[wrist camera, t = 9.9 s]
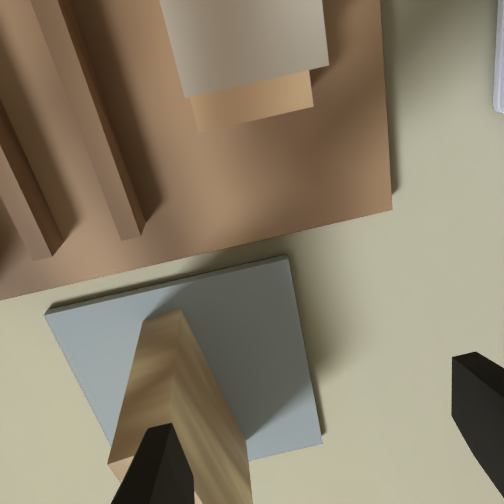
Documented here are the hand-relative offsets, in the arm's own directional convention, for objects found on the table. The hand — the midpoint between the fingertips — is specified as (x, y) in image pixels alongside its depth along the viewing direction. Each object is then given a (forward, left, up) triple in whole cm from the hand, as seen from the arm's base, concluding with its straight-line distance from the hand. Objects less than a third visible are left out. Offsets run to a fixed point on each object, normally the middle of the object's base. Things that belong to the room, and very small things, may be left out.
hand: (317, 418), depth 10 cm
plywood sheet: (+5, +7, -10) cm, 13 cm away
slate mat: (+5, +7, -10) cm, 13 cm away
